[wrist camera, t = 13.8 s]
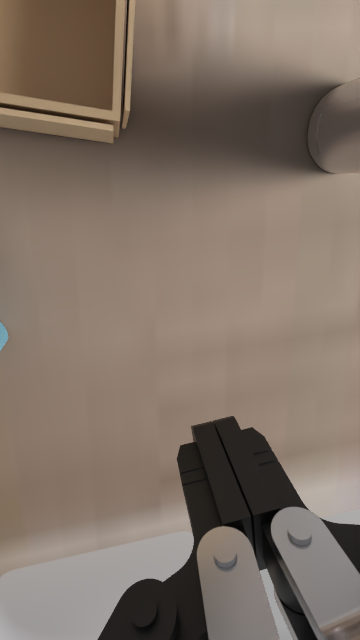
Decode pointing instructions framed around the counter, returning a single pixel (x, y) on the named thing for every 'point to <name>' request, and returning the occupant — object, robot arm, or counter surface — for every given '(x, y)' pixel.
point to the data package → (3, 335)
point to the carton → (65, 66)
